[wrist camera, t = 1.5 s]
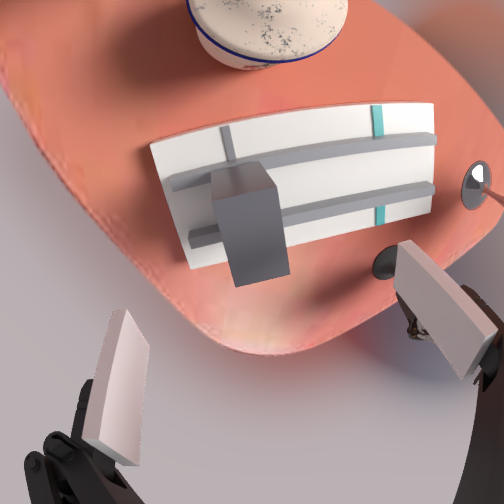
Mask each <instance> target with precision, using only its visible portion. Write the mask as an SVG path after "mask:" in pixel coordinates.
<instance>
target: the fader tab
mask: <svg viewBox="0 0 504 504" xmlns="http://www.w3.org/2000/svg"><path fill="white" fill-rule="evenodd" d="M211 196H212V204H213V208H214V212H215V216H216V219H217V223H218V227H219V230H220V234H221V238H222V241H223V245H224V248H225V252H226V256H227V259H228V263H229V266H230V270H231V273H232V277H233V280H234V284H235V287H240V286H244V285H248V284H252V283H257V282H261V281H265V280H269V279H273V278H277V277H281V276H285V275H289V274H290V269H289V262H288V255H287V248H286V241H285V234H284V227H283V221H282V214H281V208H280V202H279V195H278V189H277V186H276V184H275V183H274V181H273V180H272V179H271V177H270V176H269V174H268V173H267V172H266V170H265V169H264V167H263V166H262V165H261V163H260V162H259V161H257V162H252V163H248V164H243V165H239V166H234V167H230V168H226V169H221V170H217V171H213V172H211Z"/></svg>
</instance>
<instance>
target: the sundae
mask: <svg viewBox="0 0 504 504" xmlns="http://www.w3.org/2000/svg"><path fill="white" fill-rule="evenodd" d="M397 250H398V246H391V247H389V248H386V249H385V250H384V251H382V252H381V253H380V254H379V256H378V257H377V258H376V260H375V263H374V266H373V273H374V275H375V277H376V278H378V279H380V280H387V279H390V278H392V277H394V276H395V268H396V260H397ZM396 296H397V299H398V301H399V304H400V306H401V308H402V310H403V312H404V314H405V316H406V318H407V320H408V322H409V327H408V329H407V333H408V334H409V338H411V339H413V340H429V341H431V342H432V343H435V342H434V340H433V339H432V337H431V336H430V335H429V333H428V332H427V331H426V329H425V328H424V326H423V325H422V324H421V322H420V321H419V320H418V318H417V317H416V316H415V314H414V313H413V312H412V310H411V309H410V308H409V307H408V305H407V304H406V303H405V301H404V300H403V299H402V298H401V296H400V295H399V294H398V292H397V291H396ZM435 344H436V343H435Z"/></svg>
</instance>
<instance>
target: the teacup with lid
mask: <svg viewBox="0 0 504 504" xmlns="http://www.w3.org/2000/svg"><path fill="white" fill-rule="evenodd" d="M186 3H187V7H188V11H189V14H190V16H191V18H192V20H193V22H194V24H195V26H196V31H197V35H198V38H199V41H200V42H201V44H202V46H203V47H204V49H205V50H206V51H207V52H208V53H209V54H210V55H211V56H212V57H213V58H214V59H216V60H218V61H219V62H221V63H223V64H225V65H227V66H230V67H233V68H237V69H243V70H260V69H265V68H269V67H272V66H275V65H277V64H280V63H287V62H293V61H298V60H302V59H305V58H308V57H310V56H313V55H315V54H317V53H318V52H320V51H322V50H323V49H325V48H326V47H327V46H328V45H330V44H331V43H332V42H333V41H334V39H335V38H336V37H337V36H338V34H339V33H340V31H341V29H342V27H343V25H344V22H345V19H346V15H347V8H348V2H347V0H186Z"/></svg>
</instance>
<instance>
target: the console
mask: <svg viewBox="0 0 504 504" xmlns="http://www.w3.org/2000/svg"><path fill="white" fill-rule="evenodd" d="M434 145H437V135H435V134H434V111H433V103H427V102H422V101H383V102H361V103H346V104H335V105H324V106H315V107H307V108H299V109H292V110H285V111H279V112H273V113H267V114H261V115H256V116H250V117H245V118H240V119H236V120H231V121H226V122H222V123H217V124H213V125H209V126H205V127H201V128H197V129H193V130H189V131H186V132H182V133H178V134H175V135H171V136H168V137H165V138H161V139H158V140H155V141H153V142H152V143H151V144H150V148H151V151H152V155H153V158H154V162H155V165H156V168H157V171H158V175H159V178H160V181H161V184H162V188H163V191H164V194H165V197H166V200H167V203H168V206H169V209H170V212H171V215H172V218H173V221H174V224H175V227H176V230H177V233H178V236H179V238H180V241H181V244H182V247H183V250H184V253H185V255H186V258H187V261H188V264H189V266H190V269H191V270H192V269H196V268H200V267H205V266H209V265H213V264H217V263H222V262H226V261H228V259H227V256H226V252H225V248H224V245H223V241H222V238H221V234H220V230H219V227H218V223H217V219H216V216H215V212H214V208H213V204H212V196H211V172H213V171H217V170H221V169H226V168H230V167H234V166H239V165H243V164H248V163H252V162H257V161H259V162H260V163H261V165H262V166H263V167H264V169H265V170H266V172H267V173H268V174H269V176H270V177H271V179H272V180H273V181H274V183H275V184H276V186H277V189H278V195H279V202H280V208H281V214H282V221H283V227H284V234H285V241H286V247H289V246H293V245H297V244H302V243H306V242H310V241H314V240H318V239H323V238H327V237H331V236H335V235H339V234H344V233H348V232H352V231H356V230H360V229H364V228H369V227H373V226H378V225H382V224H385V223H389V222H393V221H398V220H402V219H406V218H410V217H414V216H418V215H422V214H426V213H430V212H431V202H432V195H435V185H433V173H434Z"/></svg>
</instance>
